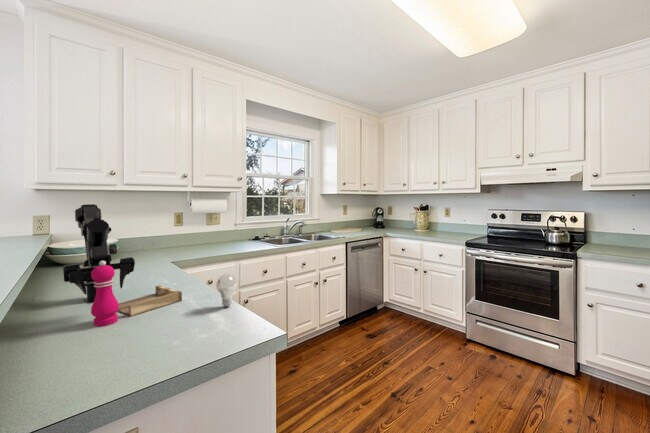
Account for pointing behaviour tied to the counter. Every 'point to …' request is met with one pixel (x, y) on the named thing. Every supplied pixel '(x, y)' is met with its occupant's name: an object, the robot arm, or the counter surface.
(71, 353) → the counter surface
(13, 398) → the counter surface
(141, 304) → the brown flat rimmed piece
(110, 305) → the pepper mill
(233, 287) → the light bulb
